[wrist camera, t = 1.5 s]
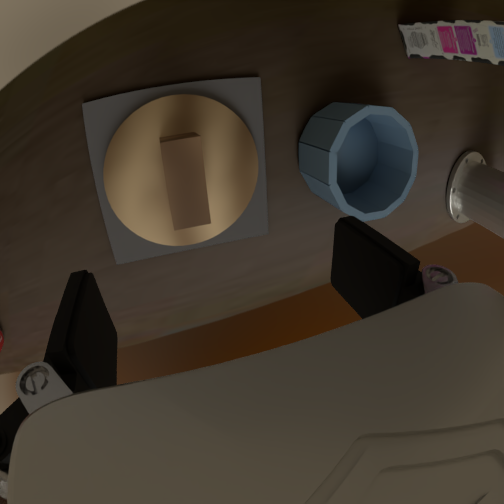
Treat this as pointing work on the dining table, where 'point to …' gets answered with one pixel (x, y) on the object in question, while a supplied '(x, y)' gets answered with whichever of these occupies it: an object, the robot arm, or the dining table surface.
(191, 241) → the lid
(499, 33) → the candy bar box
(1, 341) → the beverage can
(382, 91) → the dining table surface
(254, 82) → the mat
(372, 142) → the bowl
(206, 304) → the dining table surface
